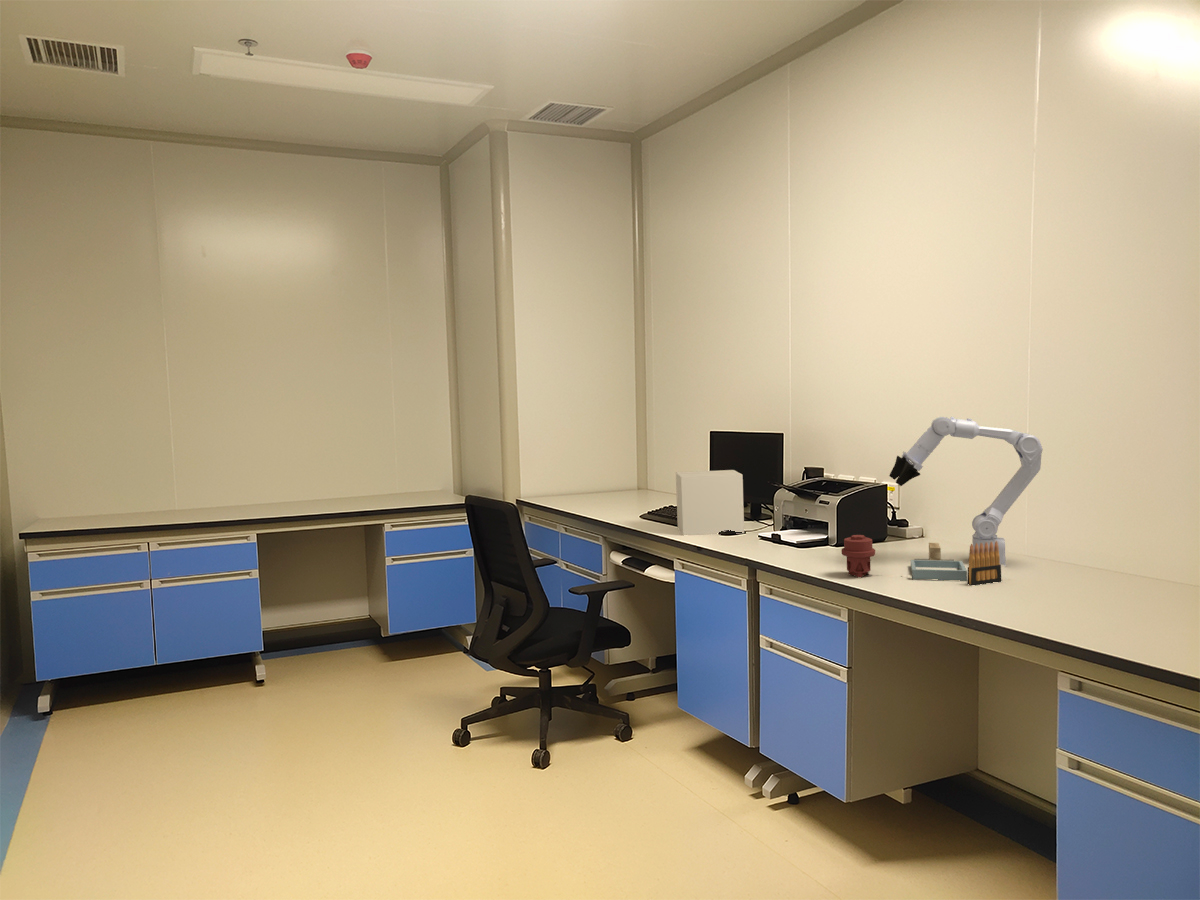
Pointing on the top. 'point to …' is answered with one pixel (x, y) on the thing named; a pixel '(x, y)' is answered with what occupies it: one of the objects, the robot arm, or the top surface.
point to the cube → (709, 502)
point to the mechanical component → (858, 554)
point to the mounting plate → (941, 559)
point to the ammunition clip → (984, 564)
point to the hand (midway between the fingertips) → (894, 481)
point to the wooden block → (934, 551)
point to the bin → (938, 574)
